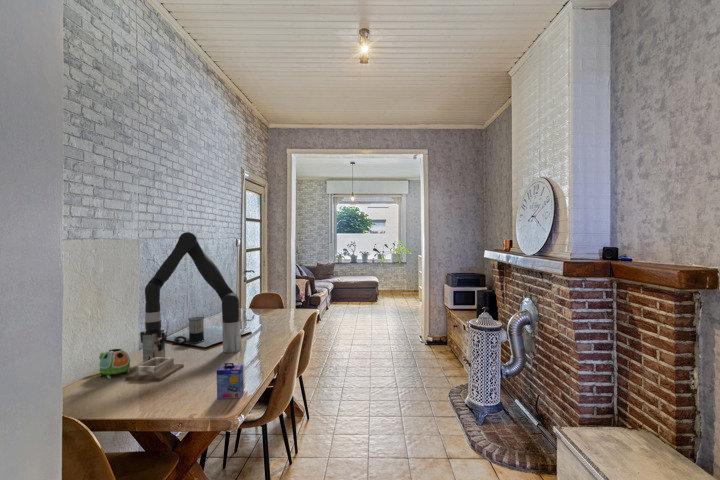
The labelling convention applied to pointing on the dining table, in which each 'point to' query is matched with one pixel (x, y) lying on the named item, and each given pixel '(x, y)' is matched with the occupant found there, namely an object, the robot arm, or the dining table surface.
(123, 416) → the dining table surface
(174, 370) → the frame
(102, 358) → the turtle holder
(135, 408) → the dining table surface
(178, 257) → the robot arm
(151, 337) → the coffee box
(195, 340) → the milk frother
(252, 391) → the dining table surface
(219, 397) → the ink cartridge box
